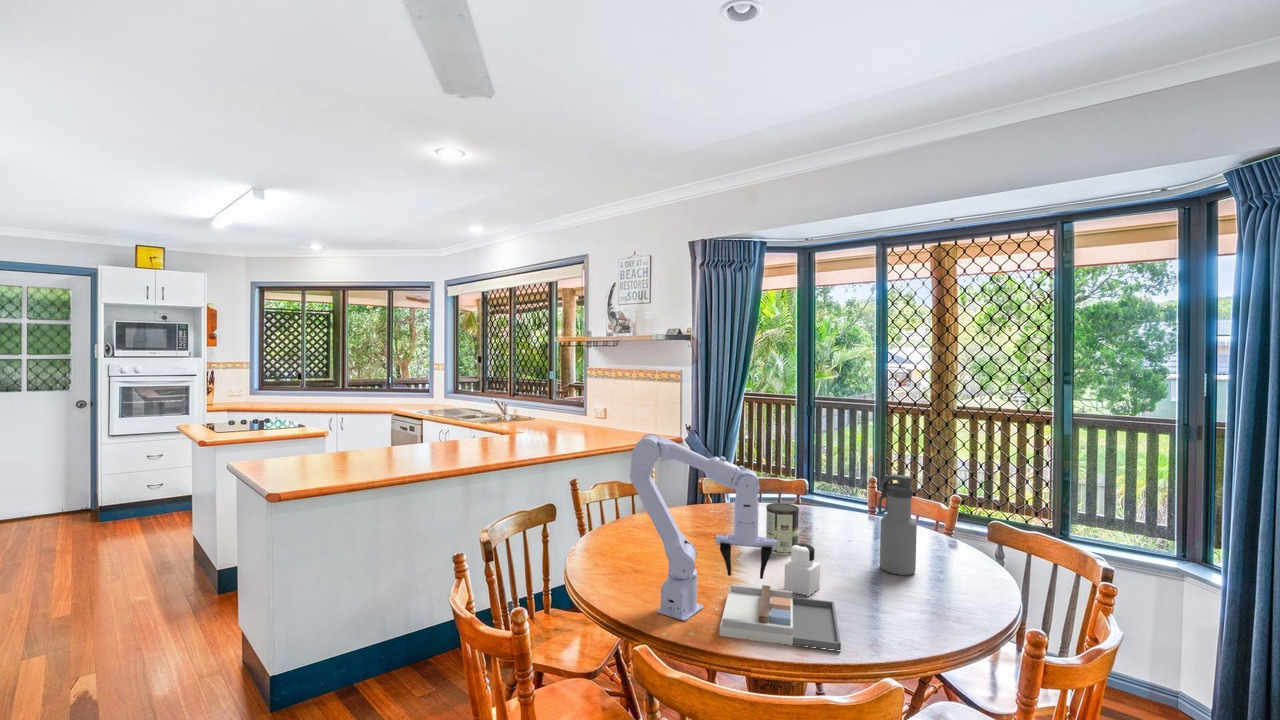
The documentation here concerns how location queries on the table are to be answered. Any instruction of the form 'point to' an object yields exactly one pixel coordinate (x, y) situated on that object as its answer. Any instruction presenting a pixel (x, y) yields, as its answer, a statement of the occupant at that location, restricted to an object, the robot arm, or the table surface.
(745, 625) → the white rimmed panel
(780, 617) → the tile
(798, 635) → the box
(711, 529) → the table surface
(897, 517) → the water bottle
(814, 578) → the medicine bottle
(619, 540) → the table surface
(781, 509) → the coffee can
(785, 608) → the tile
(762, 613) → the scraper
